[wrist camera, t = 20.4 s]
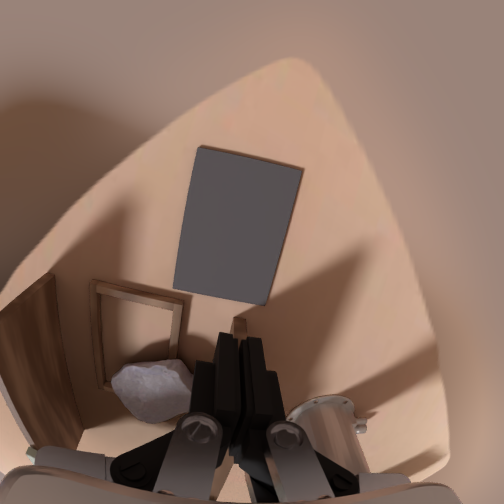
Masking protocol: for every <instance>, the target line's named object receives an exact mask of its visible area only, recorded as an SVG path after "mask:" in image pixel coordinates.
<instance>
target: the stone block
mask: <svg viewBox="0 0 504 504" xmlns="http://www.w3.org/2000/svg"><path fill="white" fill-rule="evenodd" d="M193 376H194V375H192V374H191V373H190V372H189V370H188V369H187V367H186V365H185V364H184V363H183V362H182V361H181V360H180V359H172V360H161V361H157V362H138V363H133V364H130V363H129V364H125V365H124V366H123V367H122V368H121V369H120V370H119V371H118V372H116V373H115V374H113V376H112V380H111V384H112V387H113V390H114V392H115V393H116V395H117V396H118V397H119V399H120V400H121V401H122V403H123V404H124V406H125V407H126V408H128V409H129V410H130V412H131V413H132V414H133V415H134V416H135V417H136V418H138V419H139V420H140V421H144V422H146V423H152V424H156V423H160V422H162V421H166V420H168V419H171V418H173V417H174V416H176V415H179V414H181V413H187V412H189V405H190V397H191V389H192V382H193Z"/></svg>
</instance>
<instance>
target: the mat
mask: <svg viewBox="0 0 504 504" xmlns="http://www.w3.org/2000/svg"><path fill="white" fill-rule="evenodd" d="M301 173H302V171H300V170H296V169H292V168H289V167H285V166H281V165H277V164H273V163H269V162H265V161H260V160H256V159H252V158H248V157H243V156H238V155H234V154H229V153H224V152H219V151H214V150H209V149H204V148H199V147H198V148H197V153H196V157H195V162H194V166H193V171H192V176H191V181H190V186H189V191H188V196H187V201H186V207H185V212H184V218H183V224H182V229H181V235H180V242H179V248H178V254H177V261H176V268H175V275H174V282H173V289H178V290H182V291H187V292H192V293H197V294H202V295H207V296H212V297H218V298H223V299H228V300H234V301H239V302H245V303H250V304H256V305H262V306H265V304H266V301H267V297H268V294H269V290H270V287H271V283H272V280H273V276H274V273H275V269H276V266H277V262H278V259H279V255H280V252H281V248H282V244H283V241H284V237H285V233H286V230H287V226H288V222H289V219H290V215H291V211H292V207H293V204H294V200H295V196H296V192H297V188H298V185H299V181H300V177H301Z"/></svg>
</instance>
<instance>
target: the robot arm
mask: <svg viewBox="0 0 504 504" xmlns="http://www.w3.org/2000/svg"><path fill="white" fill-rule="evenodd" d="M316 400H318V401H317V402H314V401H316ZM344 401H347V402H345V403H343V402H344ZM354 411H355V407H354V404H353V402H352V401H351V400H350V399H349V398H347V397H345V396H341V395H325V396H320V397H316V398H313V399H310V400H308V401H305V402H304V403H302V404H300V405H298V406H297V407H295V408H294V409H293V410H292V411H291V412H290V413H289V414H288V415H287V417H285V412H284V407H283V402H282V397H281V392H280V387H279V382H278V377H277V373H276V372H275V371H266V365H265V359H264V353H263V346H262V340H261V338H254V337H247V338H246V340H244V339H242V340H241V342H240V346H239V349H238V338H233V334H229V333H223V332H219V336H218V340H217V345H216V350H215V354H214V359H213V363H209V362H203V361H198V360H196V364H195V370H194V376H193V382H192V389H191V397H190V405H189V413H188V414H185V415H184V416H182V417H181V418H180V419H179V421H178V422H177V425H176V428H175V430H173V431H171V432H169V433H167V434H165V435H163V436H161V437H159V438H157V439H155V440H153V441H151V442H149V443H146V444H144V445H142V446H140V447H138V448H135V449H133V450H131V451H128V452H126V453H124V454H121V455H119V456H118V457H116V458H115V457H105V454H98V453H91V452H84V451H78V450H72V449H66V448H61V447H56V446H45V447H42V448H40V449H39V450H38V451H37V453H36V456H35V462H34V465H28V466H19V467H16V468H14V469H12V470H11V471H9V472H8V473H7V474H6V476H5V477H4V478H3V480H2V481H1V483H0V504H462V502H461V501H460V499H459V497H458V496H457V495H456V493H455V492H454V491H453V490H452V489H451V488H450V487H448V486H446V485H444V484H440V483H433V482H413V483H411V481H410V479H409V478H408V477H407V476H405V475H403V474H399V473H371V472H370V469H369V466H368V464H367V461H366V458H365V456H364V453H363V451H362V448H361V446H360V443H359V440H358V438H357V435H356V434H361V433H365V432H366V431H367V425H366V423H367V418H366V417H362V418H356V417H354ZM289 418H292V419H289ZM227 449H229V456H234V464H239V467H240V468H241V469H242V470H244V471H245V479H246V483H247V487H248V491H249V494H250V498H251V502H252V503H233V502H218V501H209V497H210V492H211V488H212V483H213V478H214V473H215V469H217V468H218V467H219V466H221V465H222V462H223V460H224V457H225V455H226V452H227Z"/></svg>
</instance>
